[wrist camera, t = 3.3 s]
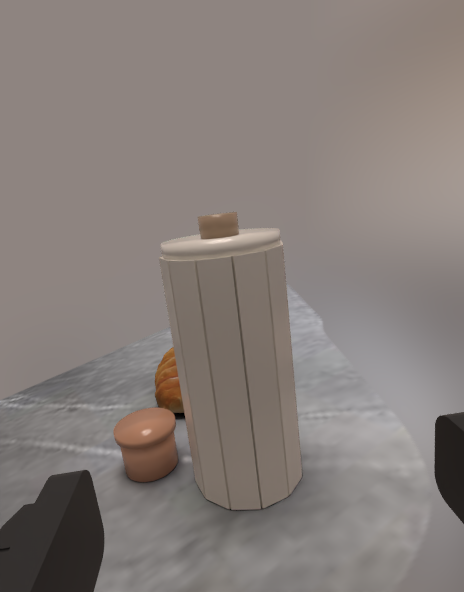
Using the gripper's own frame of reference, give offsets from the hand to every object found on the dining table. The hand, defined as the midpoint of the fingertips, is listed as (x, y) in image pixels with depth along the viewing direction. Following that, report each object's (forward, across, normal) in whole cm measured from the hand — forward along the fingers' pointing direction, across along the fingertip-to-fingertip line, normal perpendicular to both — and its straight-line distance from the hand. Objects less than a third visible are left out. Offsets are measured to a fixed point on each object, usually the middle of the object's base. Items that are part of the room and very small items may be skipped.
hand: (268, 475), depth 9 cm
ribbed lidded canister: (+10, 0, +8) cm, 13 cm away
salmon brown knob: (+12, +5, +8) cm, 16 cm away
